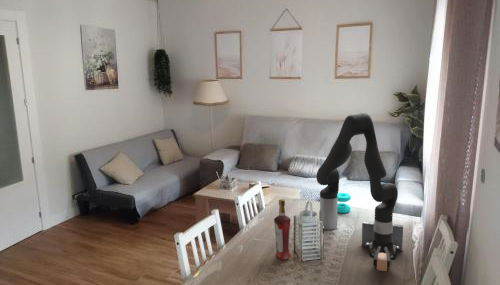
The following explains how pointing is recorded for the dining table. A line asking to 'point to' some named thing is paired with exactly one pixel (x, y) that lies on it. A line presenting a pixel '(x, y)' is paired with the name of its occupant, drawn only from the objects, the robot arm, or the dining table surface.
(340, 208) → the donuts
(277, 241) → the liquor
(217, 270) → the dining table surface
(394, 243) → the plate
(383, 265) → the plug
